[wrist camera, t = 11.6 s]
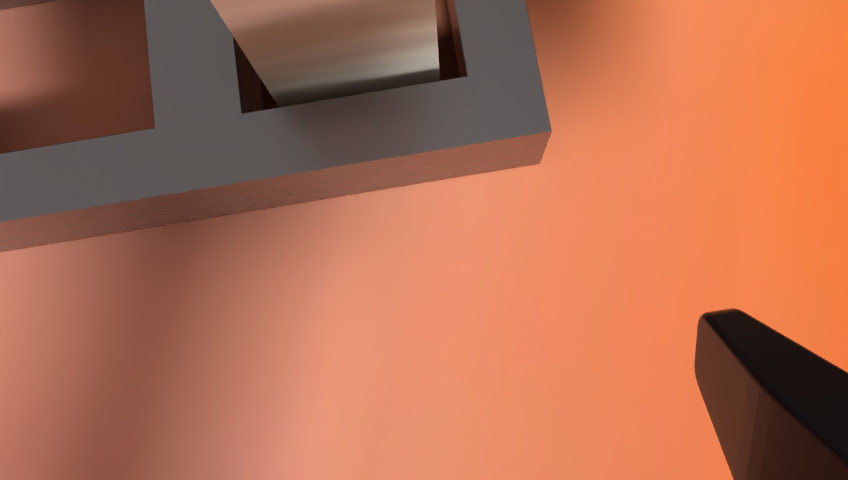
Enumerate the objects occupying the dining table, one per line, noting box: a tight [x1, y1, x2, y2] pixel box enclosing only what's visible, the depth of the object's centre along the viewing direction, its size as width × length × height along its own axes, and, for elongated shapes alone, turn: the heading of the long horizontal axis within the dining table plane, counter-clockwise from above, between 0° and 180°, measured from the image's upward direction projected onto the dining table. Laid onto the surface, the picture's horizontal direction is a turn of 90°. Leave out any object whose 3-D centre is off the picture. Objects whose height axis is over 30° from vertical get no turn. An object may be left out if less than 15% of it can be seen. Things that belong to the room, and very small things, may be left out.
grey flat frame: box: [0, 0, 551, 252], centre depth 23 cm, size 10×20×3 cm, turn 99°
